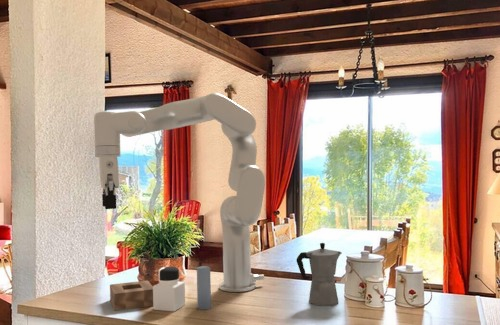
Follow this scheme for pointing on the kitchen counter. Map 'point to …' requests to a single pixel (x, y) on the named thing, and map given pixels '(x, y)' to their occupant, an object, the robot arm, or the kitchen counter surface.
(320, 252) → the coffeepot
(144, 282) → the socket
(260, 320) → the kitchen counter surface
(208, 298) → the peg
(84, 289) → the kitchen counter surface
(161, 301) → the medicine bottle
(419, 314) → the kitchen counter surface
